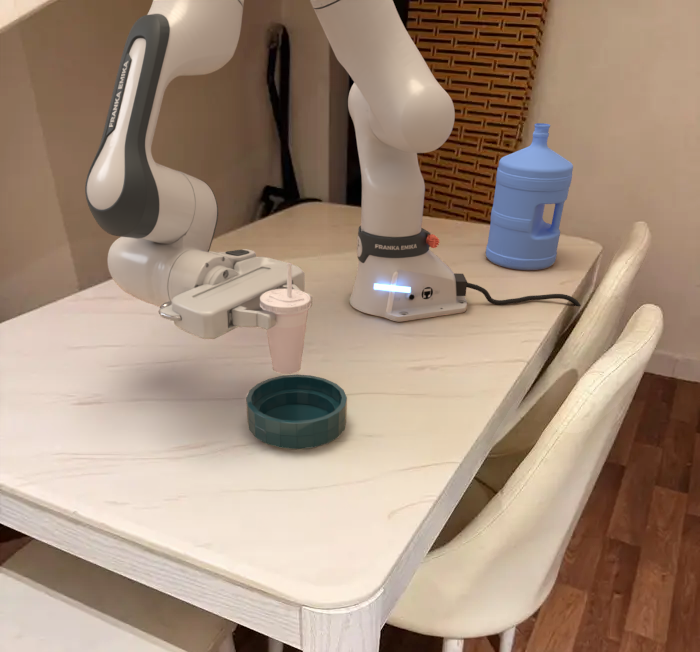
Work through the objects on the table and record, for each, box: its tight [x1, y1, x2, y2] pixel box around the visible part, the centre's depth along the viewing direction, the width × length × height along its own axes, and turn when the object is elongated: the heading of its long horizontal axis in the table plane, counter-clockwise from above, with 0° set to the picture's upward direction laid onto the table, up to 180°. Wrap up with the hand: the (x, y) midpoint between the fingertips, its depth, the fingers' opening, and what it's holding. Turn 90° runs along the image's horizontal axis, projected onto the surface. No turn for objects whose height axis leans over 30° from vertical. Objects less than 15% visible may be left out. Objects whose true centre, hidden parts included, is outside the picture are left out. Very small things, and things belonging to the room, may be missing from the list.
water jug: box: [485, 122, 574, 271], centre depth 151 cm, size 16×16×28 cm
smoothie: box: [260, 262, 312, 375], centre depth 88 cm, size 6×6×14 cm
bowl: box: [245, 373, 348, 450], centre depth 95 cm, size 13×13×4 cm
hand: (291, 311), depth 87 cm, fingers closed on smoothie, 6 cm apart
